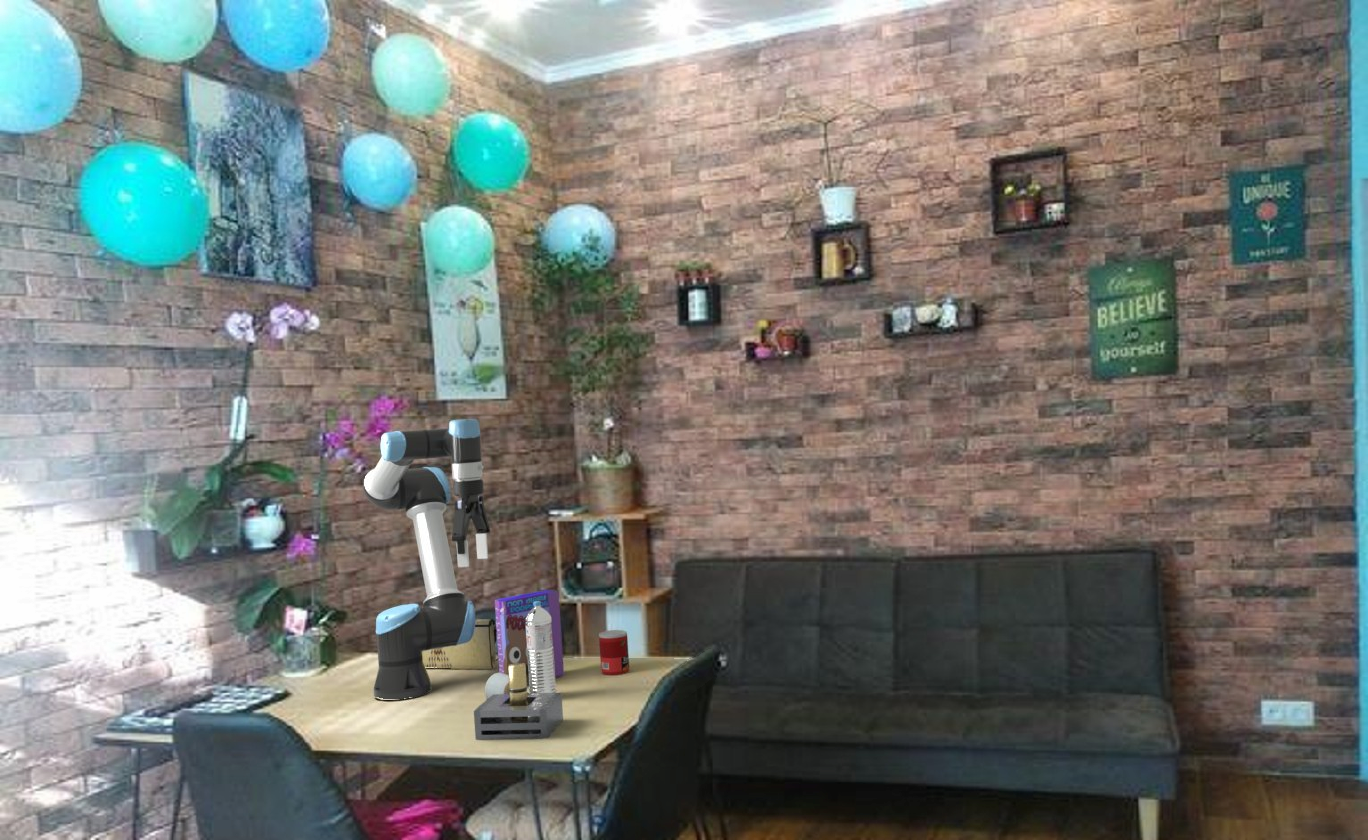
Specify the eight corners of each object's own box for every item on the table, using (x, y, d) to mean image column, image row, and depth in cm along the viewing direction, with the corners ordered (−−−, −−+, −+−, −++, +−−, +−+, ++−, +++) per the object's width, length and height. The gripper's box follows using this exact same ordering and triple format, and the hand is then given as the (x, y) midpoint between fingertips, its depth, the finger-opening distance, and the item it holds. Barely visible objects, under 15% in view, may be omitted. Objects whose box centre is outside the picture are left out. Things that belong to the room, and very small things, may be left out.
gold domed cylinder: (509, 727, 224) (505, 667, 224) (514, 722, 228) (511, 662, 228) (525, 727, 223) (522, 667, 223) (530, 722, 227) (527, 662, 227)
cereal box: (508, 689, 261) (502, 600, 261) (500, 686, 265) (494, 598, 265) (564, 675, 272) (558, 590, 272) (555, 672, 276) (549, 588, 276)
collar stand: (475, 739, 220) (473, 710, 220) (494, 721, 233) (493, 694, 233) (547, 737, 218) (545, 709, 218) (563, 719, 231) (561, 692, 231)
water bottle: (551, 701, 246) (545, 604, 246) (526, 701, 248) (519, 604, 248) (560, 693, 253) (553, 598, 253) (535, 694, 255) (529, 599, 255)
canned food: (628, 674, 268) (625, 634, 268) (599, 676, 268) (597, 636, 268) (630, 667, 276) (627, 628, 276) (602, 669, 276) (600, 630, 276)
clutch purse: (508, 664, 289) (505, 614, 289) (497, 671, 282) (494, 619, 282) (420, 664, 297) (417, 615, 297) (408, 670, 290) (404, 620, 290)
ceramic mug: (505, 710, 241) (503, 679, 241) (484, 706, 247) (483, 676, 247) (537, 700, 249) (536, 670, 249) (517, 696, 255) (515, 666, 255)
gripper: (463, 482, 234) (469, 569, 234) (498, 475, 258) (503, 554, 258) (434, 484, 235) (440, 571, 235) (471, 477, 259) (476, 555, 259)
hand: (473, 562), depth 247 cm, fingers open, 13 cm apart
